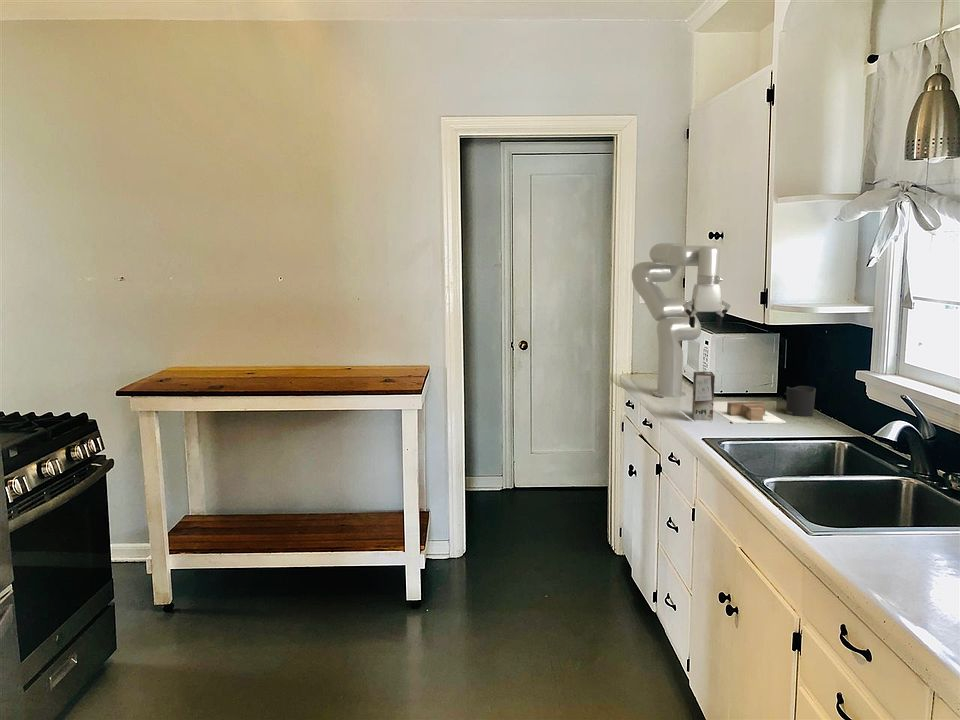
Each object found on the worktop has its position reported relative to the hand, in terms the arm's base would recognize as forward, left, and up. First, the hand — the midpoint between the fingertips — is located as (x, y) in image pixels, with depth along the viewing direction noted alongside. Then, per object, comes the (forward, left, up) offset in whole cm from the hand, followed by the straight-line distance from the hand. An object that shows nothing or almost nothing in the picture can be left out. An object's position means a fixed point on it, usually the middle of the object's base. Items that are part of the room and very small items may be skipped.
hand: (705, 327), depth 273 cm
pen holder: (+16, +30, -30) cm, 45 cm away
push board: (+11, +11, -30) cm, 33 cm away
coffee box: (+21, -6, -30) cm, 37 cm away
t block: (+20, +10, -29) cm, 37 cm away
